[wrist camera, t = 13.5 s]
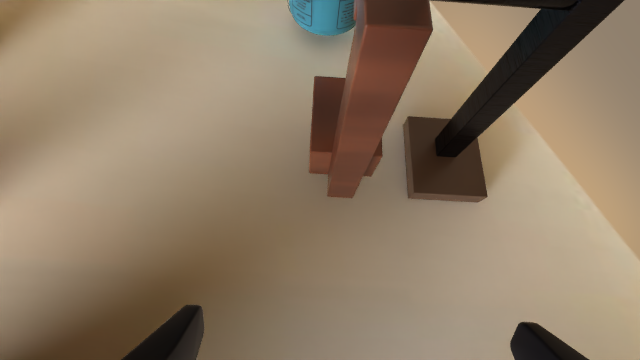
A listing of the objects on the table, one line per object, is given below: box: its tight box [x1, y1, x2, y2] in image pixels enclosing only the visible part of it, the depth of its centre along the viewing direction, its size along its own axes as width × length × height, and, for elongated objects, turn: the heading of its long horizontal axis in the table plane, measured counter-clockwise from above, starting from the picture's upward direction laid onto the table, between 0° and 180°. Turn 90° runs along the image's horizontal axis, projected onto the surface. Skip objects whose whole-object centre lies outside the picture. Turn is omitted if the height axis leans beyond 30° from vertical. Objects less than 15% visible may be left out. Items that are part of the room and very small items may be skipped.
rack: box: [403, 0, 624, 202], centre depth 15 cm, size 6×16×14 cm, turn 87°
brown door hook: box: [309, 0, 433, 198], centre depth 14 cm, size 7×4×12 cm, turn 178°
